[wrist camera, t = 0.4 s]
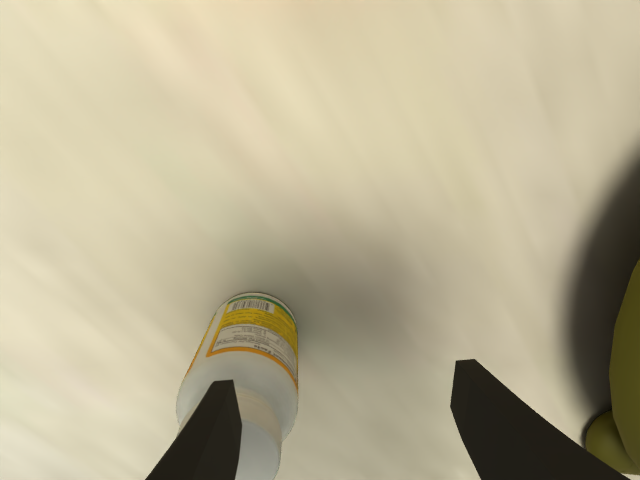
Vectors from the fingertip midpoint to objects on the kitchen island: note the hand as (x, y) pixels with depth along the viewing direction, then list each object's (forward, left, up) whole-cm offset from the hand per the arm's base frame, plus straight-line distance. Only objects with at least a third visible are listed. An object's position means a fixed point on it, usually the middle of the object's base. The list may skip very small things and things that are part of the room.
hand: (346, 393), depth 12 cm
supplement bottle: (-5, +1, -11) cm, 12 cm away
